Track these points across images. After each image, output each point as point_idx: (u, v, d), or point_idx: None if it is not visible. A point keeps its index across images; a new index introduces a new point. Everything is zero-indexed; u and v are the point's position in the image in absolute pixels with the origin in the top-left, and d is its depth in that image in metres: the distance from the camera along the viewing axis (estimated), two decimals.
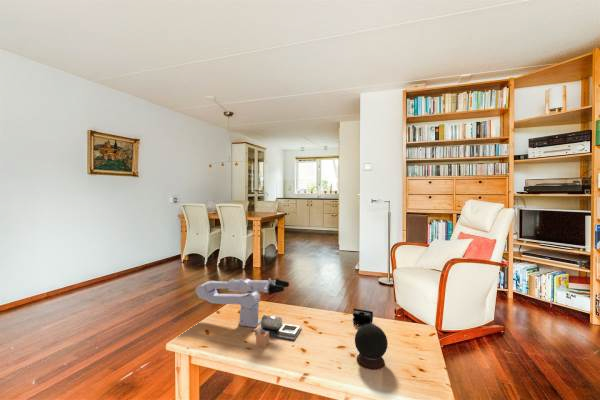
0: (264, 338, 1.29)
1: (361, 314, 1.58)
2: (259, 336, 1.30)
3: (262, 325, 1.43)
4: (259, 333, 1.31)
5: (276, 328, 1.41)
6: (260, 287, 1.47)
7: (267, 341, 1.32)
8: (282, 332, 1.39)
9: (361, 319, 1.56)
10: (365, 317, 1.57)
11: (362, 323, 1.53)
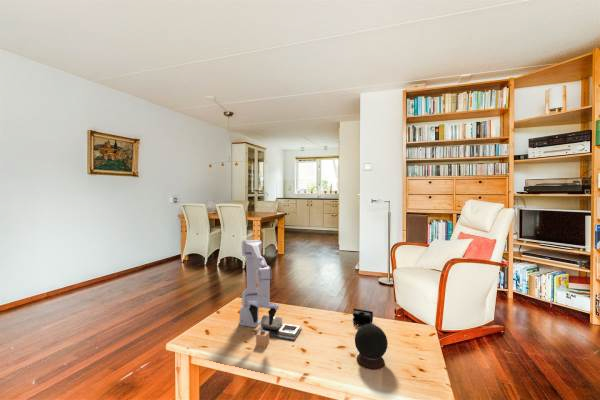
0: (264, 338, 1.29)
1: (361, 314, 1.58)
2: (259, 336, 1.30)
3: (262, 325, 1.43)
4: (259, 333, 1.31)
5: (276, 328, 1.41)
6: None
7: (267, 341, 1.32)
8: (282, 332, 1.39)
9: (361, 319, 1.56)
10: (365, 317, 1.57)
11: (362, 323, 1.53)
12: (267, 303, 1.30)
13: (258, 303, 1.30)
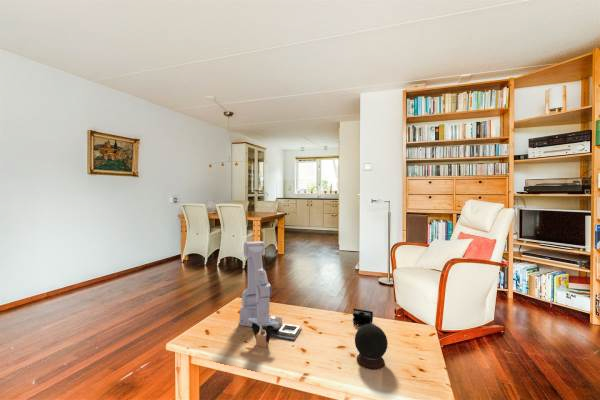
0: (264, 338, 1.29)
1: (361, 314, 1.58)
2: (259, 336, 1.30)
3: (262, 325, 1.43)
4: (259, 333, 1.31)
5: (276, 328, 1.41)
6: None
7: None
8: (282, 332, 1.39)
9: (361, 319, 1.56)
10: (365, 317, 1.57)
11: (362, 323, 1.53)
12: (267, 321, 1.30)
13: (258, 321, 1.30)
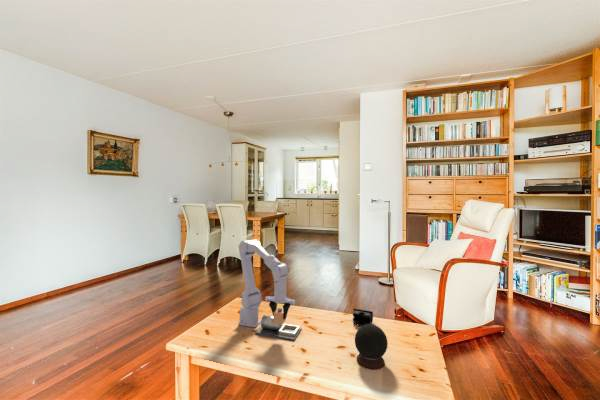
0: (281, 315, 1.35)
1: (361, 314, 1.58)
2: (276, 314, 1.36)
3: (262, 325, 1.43)
4: (276, 311, 1.37)
5: (276, 328, 1.41)
6: None
7: (284, 319, 1.37)
8: (282, 332, 1.39)
9: (361, 319, 1.56)
10: (365, 317, 1.57)
11: (362, 323, 1.53)
12: (284, 298, 1.36)
13: (275, 298, 1.36)
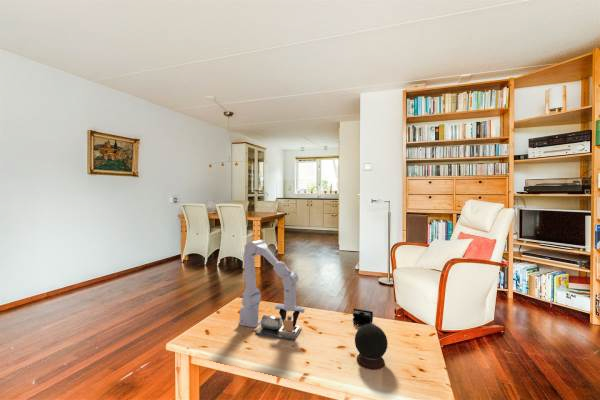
0: (291, 323, 1.39)
1: (361, 314, 1.58)
2: (286, 321, 1.40)
3: (262, 325, 1.43)
4: (286, 319, 1.41)
5: (276, 328, 1.41)
6: None
7: None
8: (282, 332, 1.39)
9: (361, 319, 1.56)
10: (365, 317, 1.57)
11: (362, 323, 1.53)
12: (294, 306, 1.40)
13: (285, 306, 1.40)
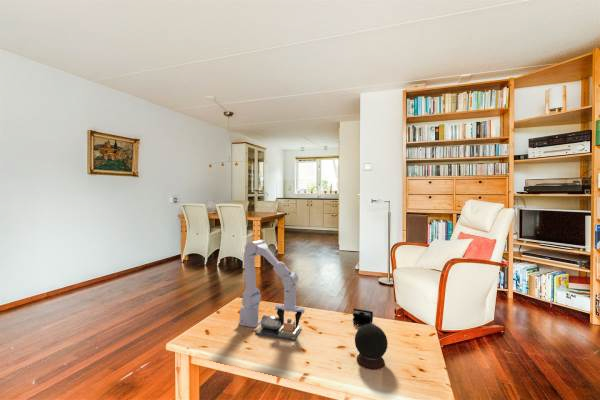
0: (291, 326, 1.39)
1: (361, 314, 1.58)
2: (286, 324, 1.40)
3: (262, 325, 1.43)
4: (286, 322, 1.41)
5: (276, 328, 1.41)
6: None
7: (293, 329, 1.42)
8: (282, 332, 1.39)
9: (361, 319, 1.56)
10: (365, 317, 1.57)
11: (362, 323, 1.53)
12: (294, 307, 1.40)
13: (285, 307, 1.40)
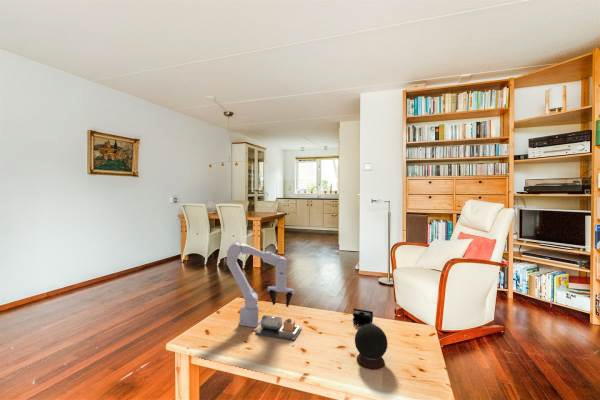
0: (291, 326, 1.39)
1: (361, 314, 1.58)
2: (286, 324, 1.40)
3: (262, 325, 1.43)
4: (286, 322, 1.41)
5: (276, 328, 1.41)
6: None
7: (293, 329, 1.42)
8: (282, 332, 1.39)
9: (361, 319, 1.56)
10: (365, 317, 1.57)
11: (362, 323, 1.53)
12: (284, 288, 1.51)
13: (277, 288, 1.51)
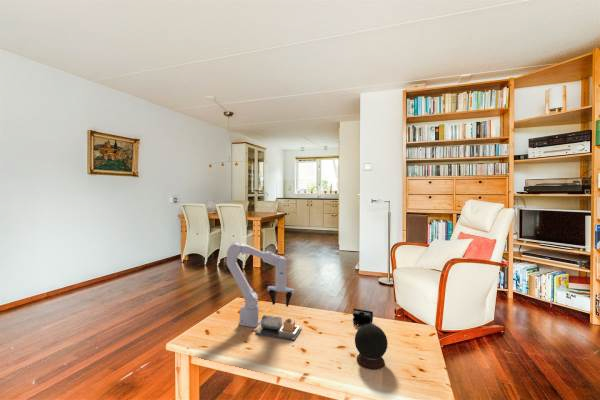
0: (291, 326, 1.39)
1: (361, 314, 1.58)
2: (286, 324, 1.40)
3: (262, 325, 1.43)
4: (286, 322, 1.41)
5: (276, 328, 1.41)
6: None
7: (293, 329, 1.42)
8: (282, 332, 1.39)
9: (361, 319, 1.56)
10: (365, 317, 1.57)
11: (362, 323, 1.53)
12: (284, 287, 1.52)
13: (277, 287, 1.52)
